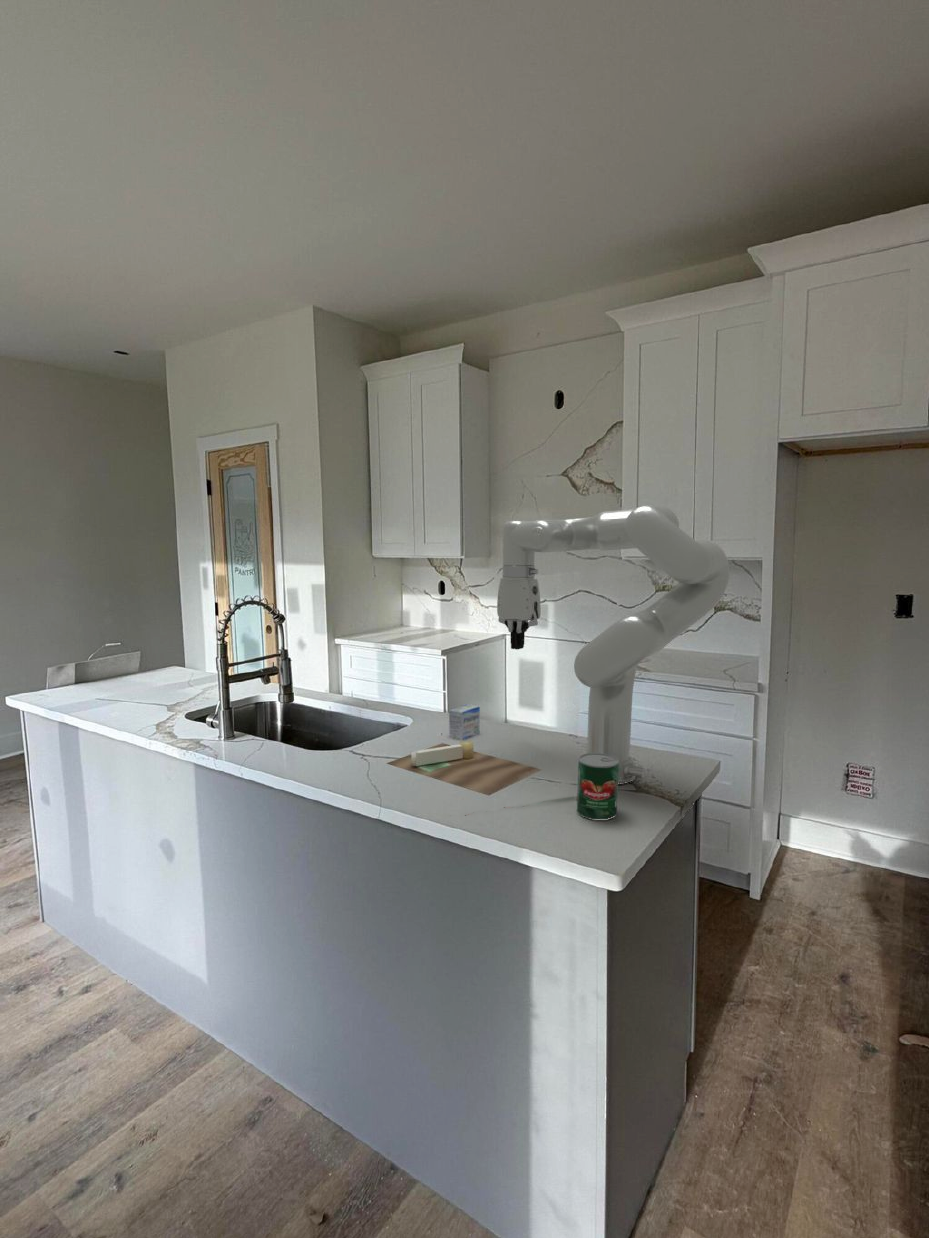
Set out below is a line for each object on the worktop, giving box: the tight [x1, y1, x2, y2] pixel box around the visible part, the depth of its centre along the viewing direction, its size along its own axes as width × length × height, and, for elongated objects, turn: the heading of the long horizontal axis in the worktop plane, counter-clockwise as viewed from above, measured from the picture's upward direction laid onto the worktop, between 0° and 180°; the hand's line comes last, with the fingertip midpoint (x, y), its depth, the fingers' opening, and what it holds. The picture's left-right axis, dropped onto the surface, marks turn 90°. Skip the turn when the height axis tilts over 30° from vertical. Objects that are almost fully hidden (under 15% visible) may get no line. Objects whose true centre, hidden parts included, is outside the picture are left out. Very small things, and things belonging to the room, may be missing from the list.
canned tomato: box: [576, 753, 619, 819], centre depth 136 cm, size 8×8×11 cm
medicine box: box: [448, 704, 481, 741], centre depth 183 cm, size 8×4×9 cm, turn 143°
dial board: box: [386, 742, 542, 796], centre depth 159 cm, size 30×20×1 cm, turn 51°
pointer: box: [410, 740, 474, 766], centre depth 162 cm, size 16×3×3 cm, turn 118°
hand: (517, 648), depth 167 cm, fingers closed
